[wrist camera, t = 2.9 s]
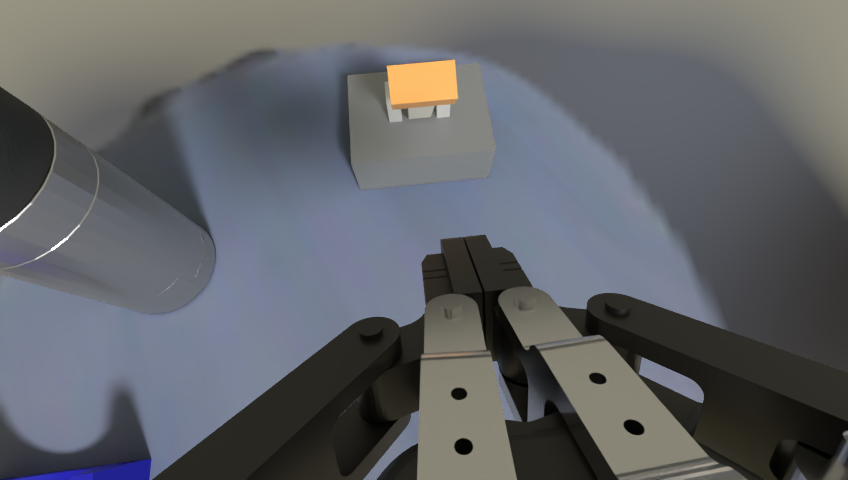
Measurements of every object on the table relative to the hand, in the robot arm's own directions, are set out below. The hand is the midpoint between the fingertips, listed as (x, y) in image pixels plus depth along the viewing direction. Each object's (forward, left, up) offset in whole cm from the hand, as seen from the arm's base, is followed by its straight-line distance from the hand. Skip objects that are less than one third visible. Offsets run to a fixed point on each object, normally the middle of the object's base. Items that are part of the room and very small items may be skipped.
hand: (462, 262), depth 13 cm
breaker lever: (0, +20, -18) cm, 27 cm away
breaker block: (0, +20, -23) cm, 30 cm away
